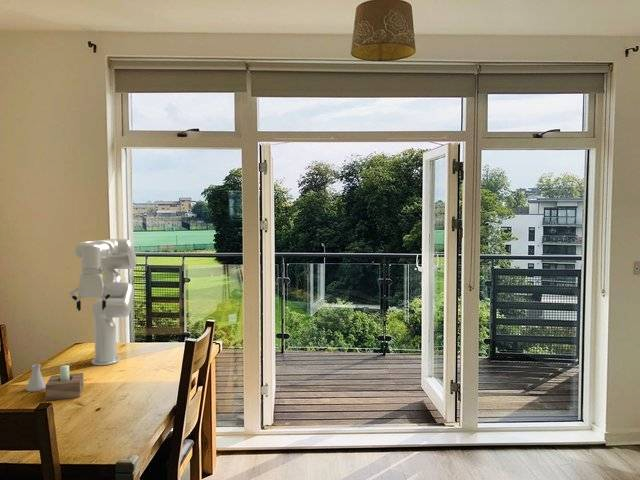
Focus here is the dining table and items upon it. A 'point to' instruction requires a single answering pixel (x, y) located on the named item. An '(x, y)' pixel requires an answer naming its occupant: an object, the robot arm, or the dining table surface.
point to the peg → (64, 373)
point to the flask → (36, 380)
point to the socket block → (64, 387)
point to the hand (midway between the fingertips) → (91, 309)
